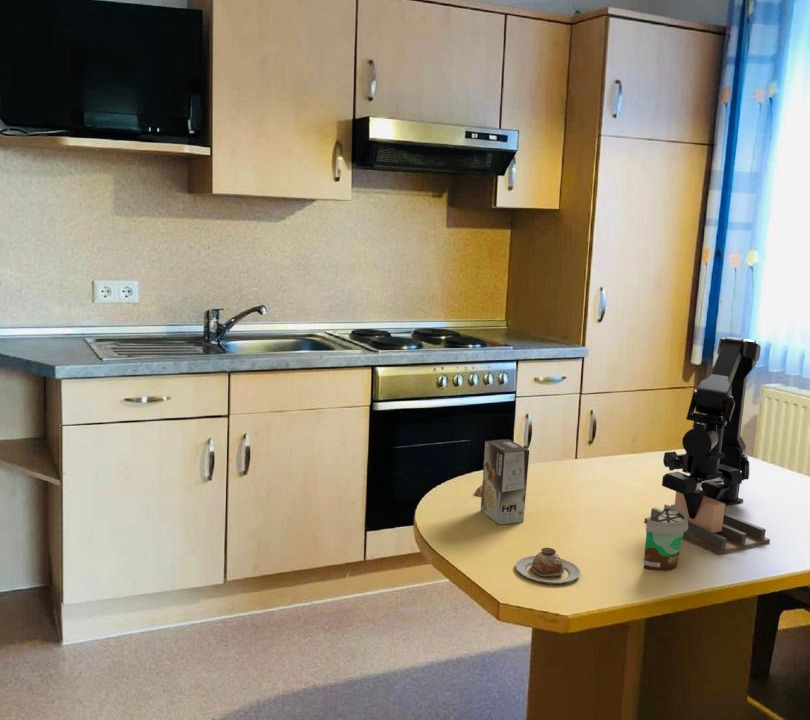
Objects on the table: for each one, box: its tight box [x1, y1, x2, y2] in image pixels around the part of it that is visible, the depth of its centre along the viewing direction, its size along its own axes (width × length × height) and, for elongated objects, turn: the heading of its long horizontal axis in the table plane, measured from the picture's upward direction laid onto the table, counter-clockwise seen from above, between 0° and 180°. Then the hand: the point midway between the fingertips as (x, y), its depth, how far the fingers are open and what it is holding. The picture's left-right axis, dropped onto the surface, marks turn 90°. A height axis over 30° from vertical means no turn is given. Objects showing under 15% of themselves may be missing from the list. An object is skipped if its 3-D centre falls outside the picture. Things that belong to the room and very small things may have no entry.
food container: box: [643, 504, 688, 572], centre depth 170 cm, size 12×6×10 cm, turn 148°
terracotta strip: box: [674, 491, 726, 533], centre depth 187 cm, size 4×10×6 cm, turn 31°
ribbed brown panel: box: [644, 503, 771, 556], centre depth 189 cm, size 16×20×3 cm
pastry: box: [514, 547, 581, 586], centre depth 164 cm, size 12×12×5 cm
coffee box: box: [480, 439, 530, 525], centre depth 190 cm, size 9×6×16 cm
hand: (697, 517), depth 187 cm, fingers closed on terracotta strip, 3 cm apart
